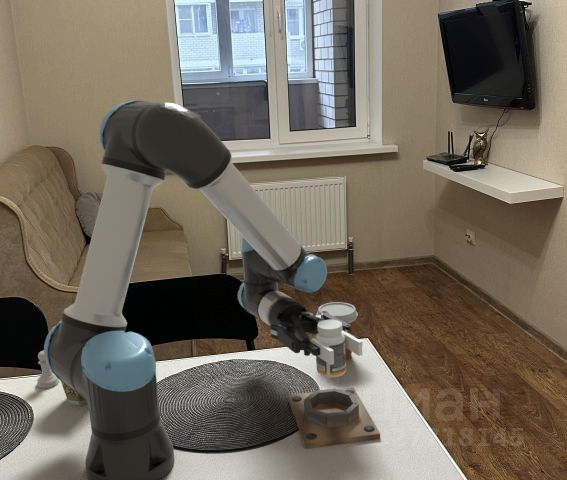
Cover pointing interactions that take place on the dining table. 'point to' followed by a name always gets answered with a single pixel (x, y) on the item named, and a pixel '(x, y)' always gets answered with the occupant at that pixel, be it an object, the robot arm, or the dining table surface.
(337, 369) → the pill bottle
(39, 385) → the chess piece
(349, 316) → the disposable coffee cup
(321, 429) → the socket plate
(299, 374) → the dining table surface
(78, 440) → the dining table surface
